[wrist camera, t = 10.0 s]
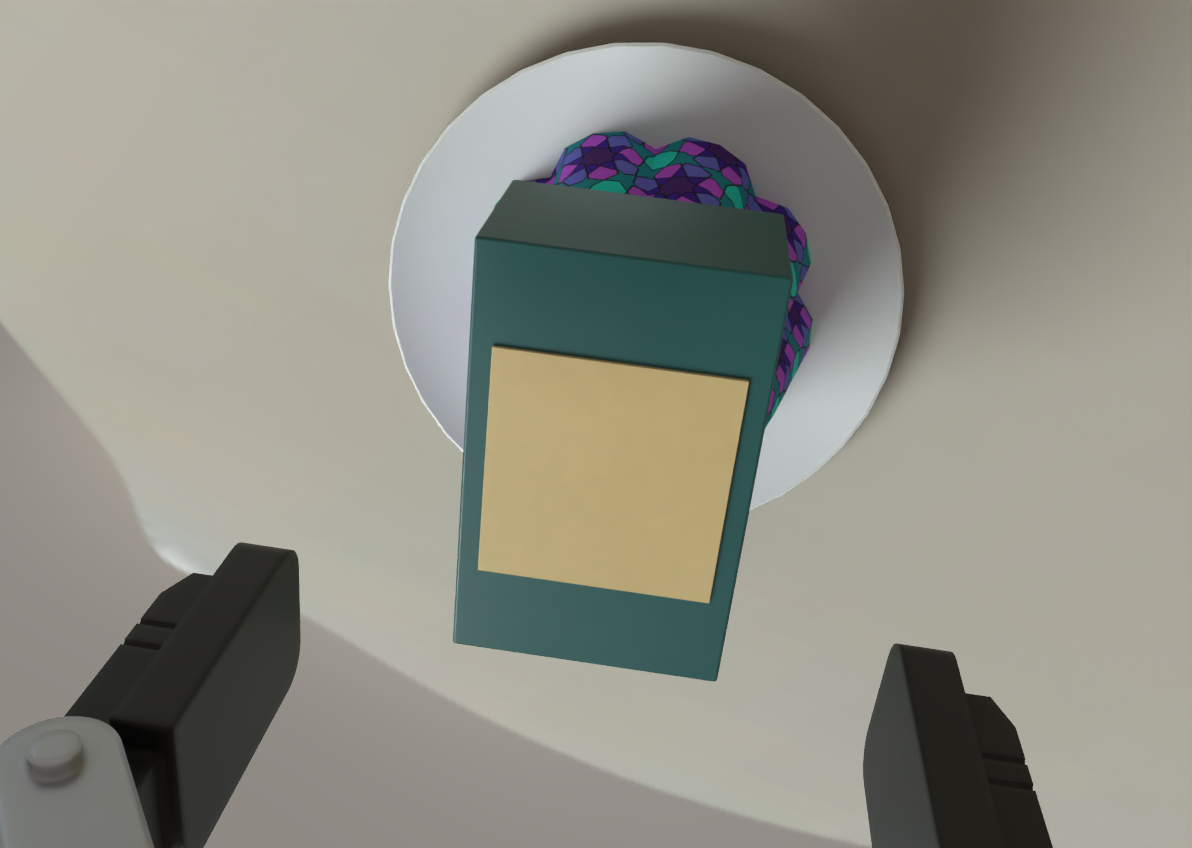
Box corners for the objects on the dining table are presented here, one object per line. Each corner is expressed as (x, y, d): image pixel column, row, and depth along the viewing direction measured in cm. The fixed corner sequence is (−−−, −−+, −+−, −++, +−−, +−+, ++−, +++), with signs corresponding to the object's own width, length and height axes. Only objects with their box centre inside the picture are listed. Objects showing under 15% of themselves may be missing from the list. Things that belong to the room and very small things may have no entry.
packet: (784, 213, 21) (794, 279, 17) (718, 576, 24) (716, 685, 21) (511, 178, 21) (473, 237, 18) (487, 543, 24) (452, 646, 21)
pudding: (351, 63, 25) (267, 111, 21) (902, 9, 24) (944, 47, 19) (441, 522, 31) (389, 642, 26) (897, 504, 29) (930, 629, 24)
